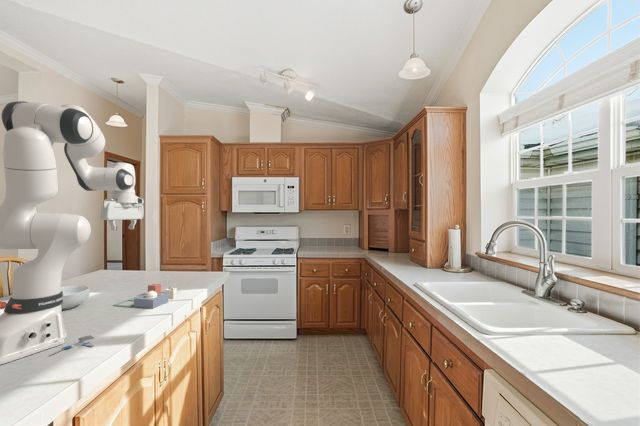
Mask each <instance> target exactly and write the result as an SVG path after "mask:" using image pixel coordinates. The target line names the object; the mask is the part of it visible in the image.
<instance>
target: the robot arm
mask: <svg viewBox="0 0 640 426" xmlns="http://www.w3.org/2000/svg"><path fill="white" fill-rule="evenodd" d="M1 122H2V124H3V127H4V129H5V130H6V133H5V134H4V141H3V147H2V148H3V149H2V151H3V152H2V157H3V159H2V160H3V168H4V169H3V170H4V177H5V178H4V179H5V195H4V199H3V201H2V203H1V205H0V249H1V250H2V249H3V250H37V255H36V257H35V258H33V259H30V260H28V261H26V262H24V263H22V264H20V265H18V266H17V267H16V268H15V269H14V270H13V272H12V274H11V297H10V298H9V300H8V301H7V302H6V301H0V310H3V313H2V314H0V365H3V364H7V363H10V362H13V361H16V360H19V359H22V358H26V357H28V356H30V355H33V354H36V353H40V352H42V351H45V350H48V349H51V348H55V347H57V346H60V345H63V344H64V343H65V339H66V338H67V337H68V333H67V330H66V328H65V323H64V319H63V310H62V309H61V306H62V303H63V292H62V291H61V287H62V281H63V272H64V271H63V270H64V266H65V264H66V262H67V260H68V259H69V257H70V256H71V254H72V253H73V252H75V251H76V250H77V249H78V248H80V247H82V246H83V245H84V244H85V243H87V241H88V240H89V238H90V237H91V234H92V227H91V224H90V222H89V220H88V219H87V218H86V217H85V216H84V215H79V214H73V213H67V212H40V211H39V212H38V211H37V206H38V205H39V204H42V203H44V202H47V201H49V200H52V199H53V198H54V197H57V195H58V193H59V179H58V168H57V167H58V166H57V159H56V155H55V150H54V147H53V145H54V143H57V144H58V143H59V144H64V147H63V150H64V155H65V157H66V160H67V161H68V163H69V164H70V167H71V169H72V170H73V172H74V174H75V175H76V176H75V177H76V181H77V183H78V185H79V186H80V187H81V188H82V189H83V190H84V191H87V192H91V191H107V192H108V191H109V192H110V191H111V198H109V197H107V198H105V199H104V200H103V201H102V206H101V210H100V218H101V220H102V221H108V223H109V225H110V231H114V232H115V231H117V230H118V226H117V225H116V221H121V220H123V221H125V220H126V221H127V220H128V221H130V224H129V225H128V229H129V230H134V229H135V225H136V224H137V220H142V219H143V218H144V214H145V213H144V208H145V207H144V202H145V200H144V199H143V198H141V197H139V196H137V195H136V190H135V185H136V171H135V166H134V165H133V164H131V163H128V162H124V161H117V162H115V163H114V165H113V167H101V166H93V165H92V166H91V165H90V164H88V161H87V159H91V158H94V157H96V156H97V155H99V154H100V153H102V151H104V149H105V146H106V138H105V136H104V133H103V132H102V130H101V129H100V127H99V126H98V124H97V123H96V121H95V120H94V119H93V117H92V116H91V115H90V114H89V113H88V112H87V110H85V109H84V108H83V107H82V106H80V105H77V104H73V103H66V104H62V105H55V104H50V103H43V102H28V101H24V100H23V101H22V100H21V101H13V102H12V101H11V102H9V103H7V104H6V105H5V106H4V108H3V109H2V112H1Z"/></svg>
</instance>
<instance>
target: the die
mask: <svg viewBox="0 0 640 426" xmlns="http://www.w3.org/2000/svg"><path fill="white" fill-rule="evenodd" d="M163 292H164V294H168V300H174V299H176V298H177V297H178V288H177V287H167V288H165V289H164V290H163Z"/></svg>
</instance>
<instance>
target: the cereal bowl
mask: <svg viewBox="0 0 640 426" xmlns="http://www.w3.org/2000/svg"><path fill="white" fill-rule="evenodd" d="M61 291H62V292H63V303H62V306H61V309H62V311H65V310H70V309H73V308H76V307H77V306H78V305H80V304H82V303H83V302H86V300H87V299H88V298H89V296H90V293H91V287H90V286H88V285H66V286H61Z"/></svg>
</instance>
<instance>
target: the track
mask: <svg viewBox="0 0 640 426" xmlns="http://www.w3.org/2000/svg"><path fill="white" fill-rule="evenodd" d="M147 293H148V292H146V293H143V294H140V295H138V296H134V297H132V298H129V299H126V300H123V301H120V302H117V303H114V304H112V306H113V307H122V308H133V307H134V304H132V305H125V304H123V303H125V302H134V298H137V297H140V296H143V295H145V294H147ZM161 294H164V291H161Z"/></svg>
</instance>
